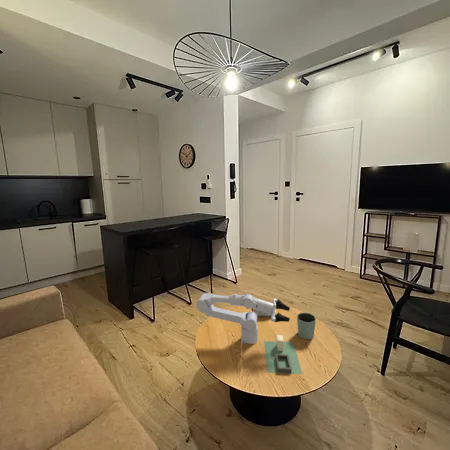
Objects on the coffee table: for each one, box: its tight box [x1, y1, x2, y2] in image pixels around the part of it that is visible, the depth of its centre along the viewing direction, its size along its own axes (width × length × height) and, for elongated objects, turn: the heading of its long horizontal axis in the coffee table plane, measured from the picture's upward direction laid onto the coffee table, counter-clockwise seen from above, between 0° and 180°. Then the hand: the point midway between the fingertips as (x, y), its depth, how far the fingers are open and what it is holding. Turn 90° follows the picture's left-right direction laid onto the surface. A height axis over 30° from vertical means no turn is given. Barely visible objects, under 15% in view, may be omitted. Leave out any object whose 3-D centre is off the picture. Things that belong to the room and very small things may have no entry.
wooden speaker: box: [251, 308, 271, 317], centre depth 162 cm, size 15×3×8 cm, turn 87°
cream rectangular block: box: [276, 334, 285, 351], centre depth 130 cm, size 3×5×6 cm, turn 175°
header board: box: [263, 340, 303, 375], centre depth 124 cm, size 16×22×3 cm
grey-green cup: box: [296, 312, 317, 340], centre depth 140 cm, size 10×10×12 cm
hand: (289, 314), depth 131 cm, fingers open, 7 cm apart
